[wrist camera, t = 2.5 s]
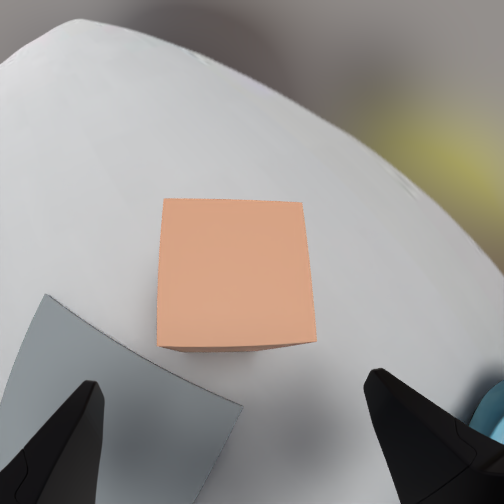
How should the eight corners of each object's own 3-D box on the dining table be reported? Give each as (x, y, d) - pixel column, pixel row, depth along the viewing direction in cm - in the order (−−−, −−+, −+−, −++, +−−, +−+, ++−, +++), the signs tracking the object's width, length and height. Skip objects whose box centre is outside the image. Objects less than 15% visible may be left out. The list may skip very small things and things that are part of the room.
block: (257, 350, 19) (316, 341, 9) (182, 352, 18) (157, 345, 8) (253, 279, 21) (302, 202, 11) (182, 279, 20) (163, 198, 10)
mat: (139, 587, 9) (138, 590, 9) (-14, 490, 10) (-18, 492, 9) (242, 405, 18) (243, 406, 17) (48, 295, 18) (45, 293, 17)
